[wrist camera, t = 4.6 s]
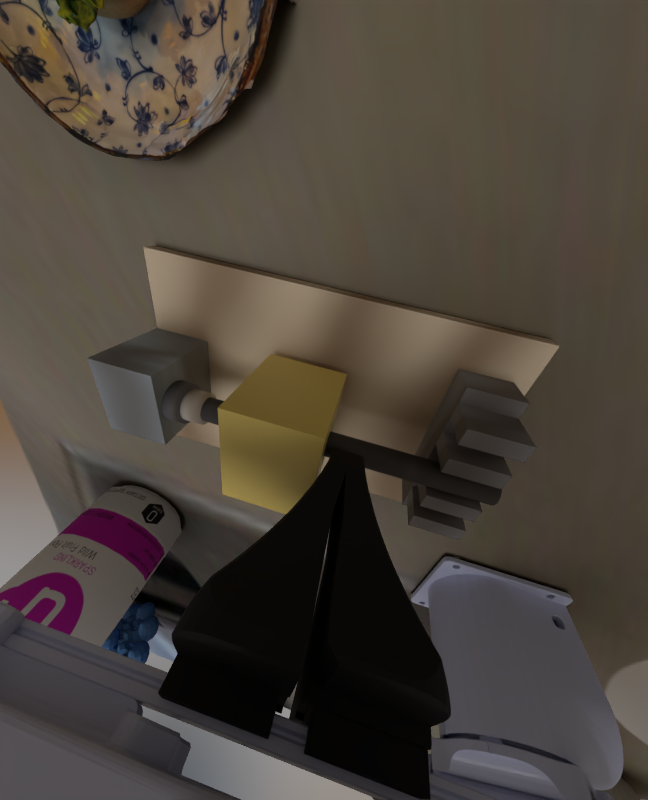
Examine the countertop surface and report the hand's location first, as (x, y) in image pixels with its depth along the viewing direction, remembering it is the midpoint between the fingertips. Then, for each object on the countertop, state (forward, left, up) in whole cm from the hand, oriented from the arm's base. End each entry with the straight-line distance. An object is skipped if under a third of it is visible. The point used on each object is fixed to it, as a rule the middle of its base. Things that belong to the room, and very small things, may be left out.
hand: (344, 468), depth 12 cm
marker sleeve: (+3, 0, -4) cm, 5 cm away
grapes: (+23, +47, -5) cm, 53 cm away
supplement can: (+17, +19, -5) cm, 26 cm away
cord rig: (+2, 0, -5) cm, 6 cm away
